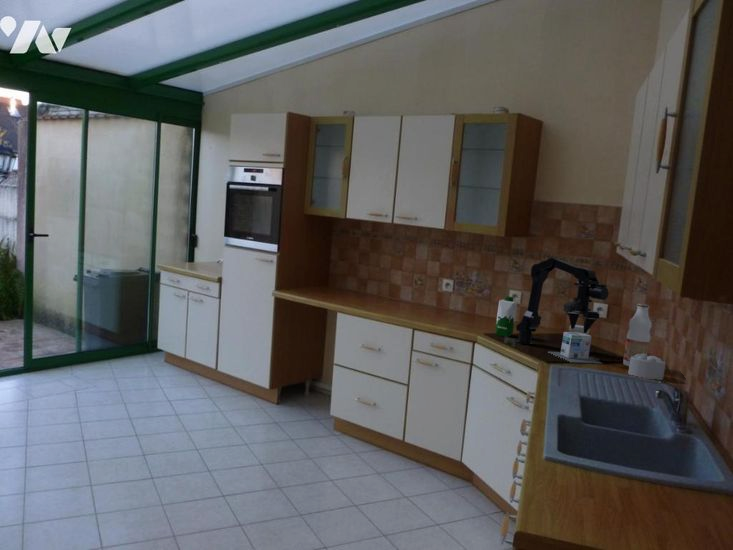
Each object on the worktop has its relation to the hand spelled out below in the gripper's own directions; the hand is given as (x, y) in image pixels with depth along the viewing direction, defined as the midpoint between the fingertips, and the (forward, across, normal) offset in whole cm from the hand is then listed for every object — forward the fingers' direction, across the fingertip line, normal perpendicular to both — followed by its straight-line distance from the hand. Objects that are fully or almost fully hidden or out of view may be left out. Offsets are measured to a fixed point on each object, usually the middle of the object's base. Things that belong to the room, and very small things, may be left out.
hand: (578, 330), depth 275 cm
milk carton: (+13, -46, -11) cm, 49 cm away
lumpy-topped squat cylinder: (+13, +27, +15) cm, 33 cm away
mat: (+13, 0, 0) cm, 13 cm away
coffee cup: (+13, -16, +12) cm, 24 cm away
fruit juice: (+13, +10, +24) cm, 29 cm away
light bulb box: (+12, 0, 0) cm, 12 cm away
